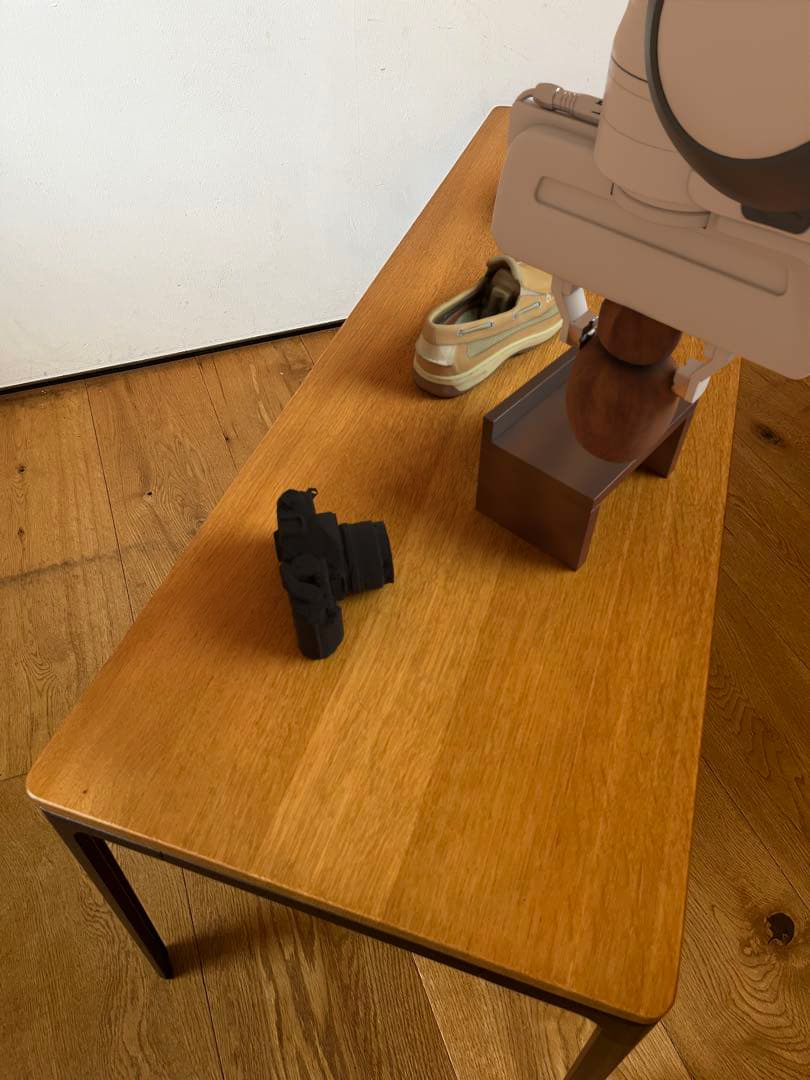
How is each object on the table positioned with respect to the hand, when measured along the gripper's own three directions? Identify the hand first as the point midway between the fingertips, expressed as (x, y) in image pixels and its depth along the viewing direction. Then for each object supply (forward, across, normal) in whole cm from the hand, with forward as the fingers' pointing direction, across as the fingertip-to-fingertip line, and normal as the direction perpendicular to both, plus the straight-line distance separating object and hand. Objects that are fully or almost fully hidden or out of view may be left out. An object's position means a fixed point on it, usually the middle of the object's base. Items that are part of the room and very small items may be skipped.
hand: (630, 367), depth 47 cm
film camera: (+28, -18, -10) cm, 34 cm away
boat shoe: (+28, -29, +31) cm, 51 cm away
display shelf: (+28, -8, +15) cm, 33 cm away
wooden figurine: (+6, 0, 0) cm, 6 cm away
